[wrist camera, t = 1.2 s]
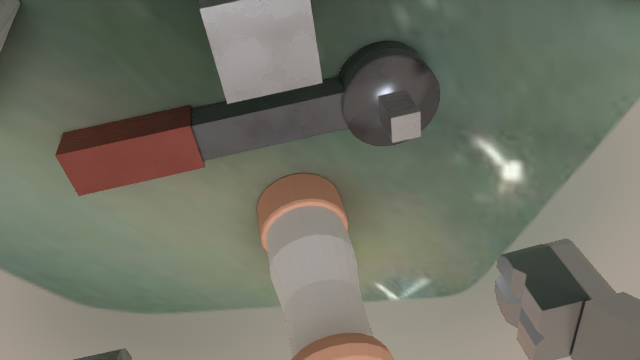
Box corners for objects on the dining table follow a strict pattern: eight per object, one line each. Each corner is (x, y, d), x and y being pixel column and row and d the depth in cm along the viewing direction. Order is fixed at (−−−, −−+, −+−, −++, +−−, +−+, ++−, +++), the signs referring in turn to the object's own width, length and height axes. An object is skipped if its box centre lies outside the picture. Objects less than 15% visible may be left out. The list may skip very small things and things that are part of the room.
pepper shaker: (345, 224, 47) (415, 431, 33) (268, 245, 47) (303, 463, 32) (332, 163, 43) (406, 371, 28) (246, 186, 42) (275, 408, 28)
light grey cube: (198, -33, 32) (199, 8, 26) (288, -51, 32) (308, -14, 26) (221, 52, 35) (227, 103, 30) (302, 35, 35) (322, 82, 30)
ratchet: (52, 112, 35) (31, 163, 31) (425, 31, 37) (458, 69, 32) (94, 189, 40) (81, 244, 35) (425, 114, 42) (455, 157, 37)
